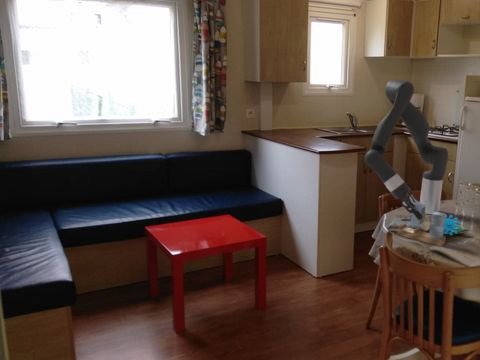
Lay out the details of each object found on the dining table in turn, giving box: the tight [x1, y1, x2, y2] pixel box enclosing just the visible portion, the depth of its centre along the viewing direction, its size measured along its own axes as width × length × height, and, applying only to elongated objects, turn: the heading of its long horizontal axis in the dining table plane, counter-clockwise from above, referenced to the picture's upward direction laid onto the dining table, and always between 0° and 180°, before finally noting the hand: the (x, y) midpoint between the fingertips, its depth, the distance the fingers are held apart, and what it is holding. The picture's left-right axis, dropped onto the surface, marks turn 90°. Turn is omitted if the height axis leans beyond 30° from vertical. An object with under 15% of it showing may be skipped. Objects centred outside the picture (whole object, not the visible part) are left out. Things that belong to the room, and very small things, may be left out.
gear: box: [443, 214, 465, 237], centre depth 193 cm, size 11×6×10 cm
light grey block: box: [410, 201, 426, 228], centre depth 194 cm, size 4×4×10 cm
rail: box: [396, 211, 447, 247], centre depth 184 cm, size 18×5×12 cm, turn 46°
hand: (422, 216), depth 194 cm, fingers closed on light grey block, 4 cm apart
